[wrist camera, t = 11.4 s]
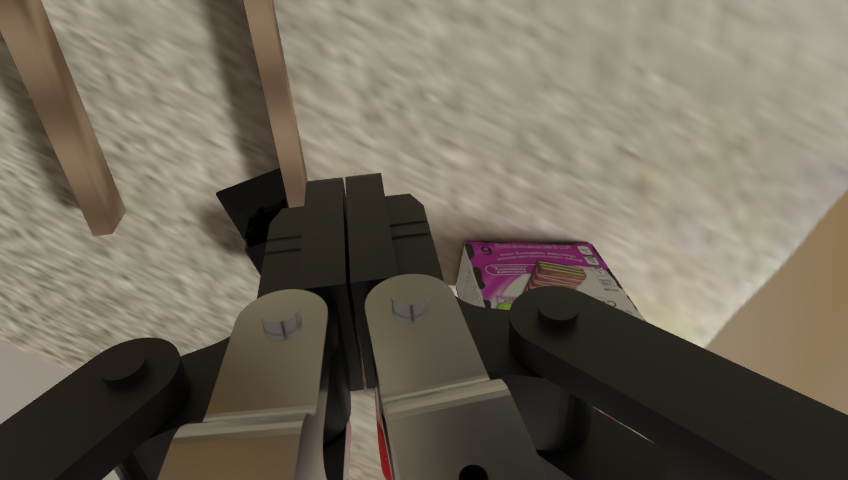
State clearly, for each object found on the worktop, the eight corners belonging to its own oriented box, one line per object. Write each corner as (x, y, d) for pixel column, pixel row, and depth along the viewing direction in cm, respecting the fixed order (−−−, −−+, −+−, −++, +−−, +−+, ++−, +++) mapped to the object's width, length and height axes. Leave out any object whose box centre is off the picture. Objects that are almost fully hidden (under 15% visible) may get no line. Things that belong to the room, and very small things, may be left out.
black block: (355, 273, 46) (357, 310, 42) (272, 301, 47) (266, 341, 43) (288, 140, 39) (283, 171, 35) (191, 176, 40) (176, 209, 36)
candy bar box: (593, 238, 47) (701, 389, 33) (578, 287, 49) (672, 446, 36) (460, 236, 45) (516, 395, 31) (452, 287, 48) (500, 454, 34)
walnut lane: (-17, -82, 30) (-49, -77, 27) (253, -102, 31) (246, -100, 29) (108, 213, 40) (93, 236, 37) (309, 189, 41) (308, 210, 38)
